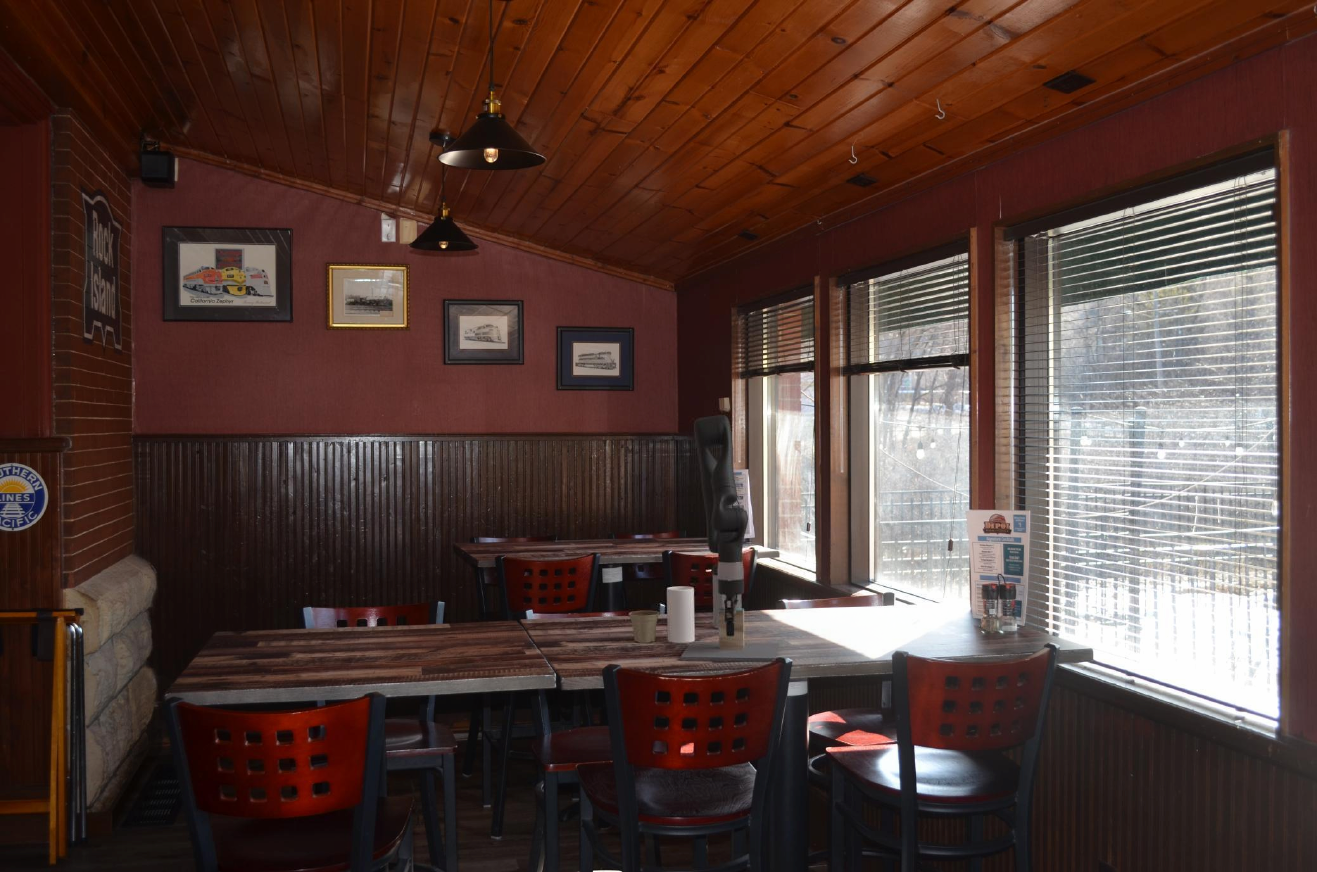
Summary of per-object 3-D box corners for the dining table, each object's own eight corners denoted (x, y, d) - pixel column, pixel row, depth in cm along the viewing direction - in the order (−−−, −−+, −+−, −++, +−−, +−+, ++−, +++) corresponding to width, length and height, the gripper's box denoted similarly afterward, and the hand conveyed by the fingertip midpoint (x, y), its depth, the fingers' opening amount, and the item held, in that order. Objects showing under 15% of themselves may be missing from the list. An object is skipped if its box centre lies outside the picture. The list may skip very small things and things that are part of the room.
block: (720, 646, 312) (719, 608, 312) (744, 646, 311) (744, 608, 311) (719, 648, 308) (718, 610, 308) (743, 649, 307) (742, 610, 307)
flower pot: (635, 645, 321) (635, 616, 321) (624, 640, 330) (624, 612, 330) (664, 642, 325) (664, 614, 325) (653, 637, 334) (652, 609, 334)
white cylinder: (670, 643, 323) (669, 590, 323) (665, 638, 331) (664, 587, 331) (697, 642, 325) (696, 589, 325) (691, 637, 333) (690, 585, 333)
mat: (690, 645, 319) (690, 642, 319) (778, 646, 315) (778, 643, 315) (680, 660, 298) (680, 656, 298) (774, 661, 293) (774, 658, 293)
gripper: (720, 574, 317) (721, 629, 317) (715, 580, 303) (716, 637, 303) (745, 574, 316) (746, 629, 316) (741, 580, 302) (742, 638, 302)
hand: (731, 633), depth 309 cm, fingers open, 8 cm apart
